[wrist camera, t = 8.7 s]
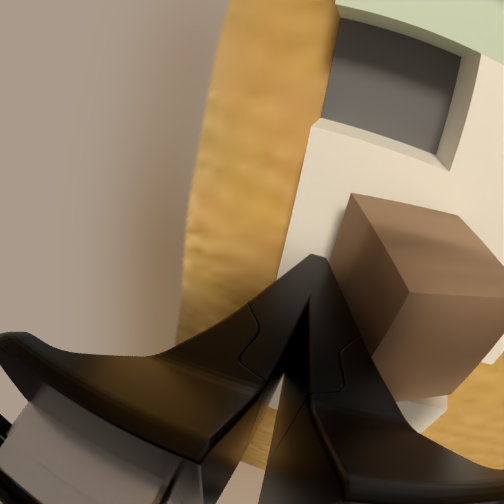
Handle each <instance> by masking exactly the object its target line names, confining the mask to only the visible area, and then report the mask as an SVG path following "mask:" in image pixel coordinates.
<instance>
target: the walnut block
mask: <svg viewBox="0 0 504 504" xmlns="http://www.w3.org/2000/svg"><path fill="white" fill-rule="evenodd" d="M328 263H329V265H330V267H331V269H332V271H333V273H334V275H335V277H336V279H337V282H338V284H339V286H340V288H341V290H342V292H343V295H344V297H345V299H346V301H347V303H348V306H349V308H350V310H351V312H352V314H353V317H354V319H355V321H356V324H357V326H358V328H359V330H360V333H361V336H362V337H363V339H364V342H365V344H366V346H367V348H368V351H369V353H370V355H371V357H372V359H373V361H374V363H375V365H376V367H377V369H378V371H379V373H380V375H381V376H382V378H383V380H384V382H385V384H386V385H387V387H388V389H389V391H390V392H391V394H392V396H393V398H394V400H395V401H396V402H401V401H409V400H417V399H424V398H431V397H437V396H443V395H449V394H451V393H452V392H453V391H454V390H455V389H456V388H457V387H458V386H459V385H460V384H461V383H462V382H463V381H464V380H465V379H466V378H467V377H468V376H469V375H470V373H471V372H472V371H473V370H474V369H475V368H476V367H477V366H478V365H479V363H480V362H481V361H482V360H483V359H484V358H485V356H486V355H487V354H488V353H489V352H490V350H491V349H492V348H493V347H494V346H495V344H496V343H497V342H498V341H499V339H500V338H501V337H502V335H503V334H504V266H503V265H502V264H501V262H500V261H499V260H498V259H497V258H496V256H495V255H494V254H493V253H492V252H491V251H490V249H489V248H488V247H487V246H486V245H485V244H484V243H483V242H482V240H481V239H480V238H479V237H478V236H477V235H476V234H475V233H474V232H473V231H472V229H471V228H470V227H469V226H468V225H467V224H466V223H465V222H464V221H463V220H462V219H461V218H460V217H459V216H458V215H454V214H450V213H446V212H442V211H437V210H433V209H429V208H424V207H420V206H415V205H411V204H406V203H402V202H397V201H392V200H387V199H382V198H377V197H372V196H367V195H361V194H356V193H351V194H350V197H349V200H348V204H347V207H346V210H345V213H344V217H343V220H342V223H341V226H340V229H339V232H338V235H337V238H336V241H335V244H334V247H333V250H332V253H331V256H330V259H329V262H328Z"/></svg>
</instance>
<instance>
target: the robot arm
mask: <svg viewBox="0 0 504 504" xmlns="http://www.w3.org/2000/svg"><path fill="white" fill-rule="evenodd" d="M0 365H1V367H2V368H3V369H4V371H5V372H6V374H7V375H8V376H9V378H10V379H11V380H12V382H13V383H14V384H15V385H16V387H17V388H18V389H19V391H20V392H21V393H22V394H23V396H24V397H25V398H26V399H27V400H28V404H27V405H26V406H25V408H24V409H23V410H22V412H21V413H20V415H19V416H18V417H17V419H16V420H15V421H14V423H13V424H11V423H10V422H8V421H7V420H6V419H5V418H4V417H3V416H2V415H1V414H0V504H216V502H217V500H218V499H219V497H220V495H221V493H222V492H223V490H224V488H225V486H226V485H227V483H228V481H229V479H230V478H231V475H232V474H233V472H234V471H235V469H236V467H237V465H238V463H239V461H240V460H241V458H242V456H243V454H244V452H245V450H246V448H247V447H248V445H249V443H250V441H251V439H252V437H253V435H254V433H255V431H256V429H257V427H258V425H259V424H260V422H261V420H262V418H263V416H264V414H265V412H266V410H267V408H268V406H269V404H270V402H271V399H272V397H273V395H274V393H275V391H276V389H277V387H278V385H279V383H280V381H281V379H282V377H283V382H282V388H281V393H280V399H279V405H278V410H277V415H276V421H275V426H274V431H273V436H272V441H271V446H270V451H269V456H268V461H267V466H266V470H265V475H264V480H263V484H262V489H261V493H260V498H259V502H258V504H504V470H499V469H491V468H487V467H484V466H481V465H479V464H476V463H474V462H472V461H470V460H468V459H466V458H464V457H462V456H460V455H458V454H456V453H455V452H453V451H451V450H449V449H447V448H445V447H443V446H441V445H439V444H438V443H436V442H434V441H432V440H430V439H428V438H427V437H425V436H423V435H421V434H420V433H418V432H417V431H416V430H414V429H413V428H412V427H411V426H410V424H409V423H408V422H407V420H406V419H405V417H404V416H403V414H402V412H401V411H400V409H399V407H398V405H397V403H396V401H395V400H394V398H393V396H392V394H391V392H390V391H389V389H388V387H387V385H386V384H385V382H384V380H383V378H382V376H381V375H380V373H379V371H378V369H377V367H376V365H375V363H374V361H373V359H372V357H371V355H370V353H369V351H368V348H367V346H366V344H365V342H364V339H363V337H362V336H361V333H360V330H359V328H358V326H357V324H356V321H355V319H354V317H353V314H352V312H351V310H350V308H349V306H348V303H347V301H346V299H345V297H344V295H343V292H342V290H341V288H340V286H339V284H338V282H337V279H336V277H335V275H334V273H333V271H332V269H331V267H330V265H329V263H328V261H327V259H326V258H325V257H322V256H319V255H315V254H309V255H308V256H307V257H305V258H304V259H303V260H302V261H300V262H299V263H298V264H297V265H295V266H294V267H293V268H292V269H290V270H289V271H288V272H286V273H285V274H284V275H283V276H281V277H280V278H279V279H277V280H276V281H275V282H274V283H272V284H271V285H270V286H268V287H267V288H266V289H265V290H263V291H262V292H261V293H259V294H258V295H257V296H255V297H254V298H253V299H252V300H250V301H249V302H248V303H247V304H245V305H243V306H242V307H241V308H240V309H238V310H237V311H236V312H234V313H233V314H231V315H230V316H228V317H227V318H225V319H224V320H222V321H221V322H219V323H217V324H216V325H214V326H212V327H210V328H209V329H207V330H205V331H203V332H201V333H199V334H198V335H196V336H194V337H192V338H190V339H188V340H186V341H184V342H183V343H181V344H179V345H177V346H175V347H173V348H171V349H169V350H167V351H165V352H162V353H160V354H156V355H152V356H146V357H137V356H134V357H133V356H113V355H95V354H81V353H73V352H68V351H64V350H60V349H57V348H54V347H52V346H50V345H48V344H46V343H45V342H43V341H41V340H40V339H38V338H37V337H35V336H34V335H32V334H30V333H27V332H6V333H1V334H0ZM283 374H284V376H283Z"/></svg>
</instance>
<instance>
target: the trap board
mask: <svg viewBox="0 0 504 504" xmlns="http://www.w3.org/2000/svg"><path fill="white" fill-rule="evenodd" d="M335 5H336V7H337V10H338V12H339V15H340V17H341V19H340V24H339V30H338V35H337V40H336V46H335V51H334V56H333V61H332V66H331V71H330V76H329V81H328V86H327V91H326V96H325V101H324V105H323V110H322V115H321V118H320V119H319V120H318V121H317V122H316V123H314V124H313V125H312V126H311V131H310V135H309V140H308V145H307V149H306V154H305V158H304V163H303V168H302V172H301V177H300V181H299V185H298V190H297V194H296V199H295V203H294V207H293V212H292V216H291V220H290V225H289V229H288V233H287V237H286V241H285V246H284V250H283V254H282V258H281V262H280V266H279V270H278V274H277V279H279V278H280V277H281V276H283V275H284V274H285V273H286V272H288V271H289V270H290V269H292V268H293V267H294V266H295V265H297V264H298V263H299V262H300V261H302V260H303V259H304V258H305V257H307V256H308V255H309V254H315V255H319V256H322V257H325V258H326V259H327V261H328V262H329V259H330V256H331V253H332V250H333V247H334V244H335V241H336V238H337V235H338V232H339V229H340V226H341V223H342V220H343V217H344V213H345V210H346V207H347V204H348V200H349V197H350V194H351V193H356V194H361V195H367V196H372V197H377V198H382V199H387V200H392V201H397V202H402V203H406V204H411V205H415V206H420V207H424V208H429V209H433V210H437V211H442V212H446V213H450V214H454V215H458V216H459V217H460V218H461V219H462V220H463V221H464V222H465V223H466V224H467V225H468V226H469V227H470V228H471V229H472V231H473V232H474V233H475V234H476V235H477V236H478V237H479V238H480V239H481V240H482V242H483V243H484V244H485V245H486V246H487V247H488V248H489V249H490V251H491V252H492V253H493V254H494V255H495V256H496V258H497V259H498V260H499V261H500V262H501V264H502V265H503V266H504V0H336V1H335ZM277 279H276V280H277ZM503 351H504V334H503V335H502V337H501V338H500V339H499V341H498V342H497V343H496V344H495V346H494V347H493V348H492V349H491V350H490V352H489V353H488V354H487V355H486V356H485V358H484V359H483V360H482V361H481V362H483V363H487V364H491V365H492V364H493V363H494V362H495V361H496V359H497V358H498V357H499V356H500V355H501V354H502V352H503ZM283 376H284V374H283ZM282 382H283V377H282V379H281V381H280V383H279V385H278V387H277V389H276V391H275V393H274V395H273V397H272V399H271V402H270V404H269V406H268V407H269V408H272V409H275V410H278V405H279V399H280V393H281V388H282ZM396 403H397V405H398V407H399V409H400V411H401V412H402V414H403V416H404V417H405V419H406V420H407V422H408V423H409V424H410V426H411V427H412V428H413V429H414V430H416V431H417V432H418V433H421V432H422V431H424V430H425V429H426V428H427V427H428V426H430V425H431V424H432V423H433V422H434V421H435V420H437V419H438V418H439V417H440V416H441V415H442V414H443V413H444V412H446V411H447V410H448V404H447V395H443V396H437V397H431V398H424V399H417V400H409V401H401V402H396Z"/></svg>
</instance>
